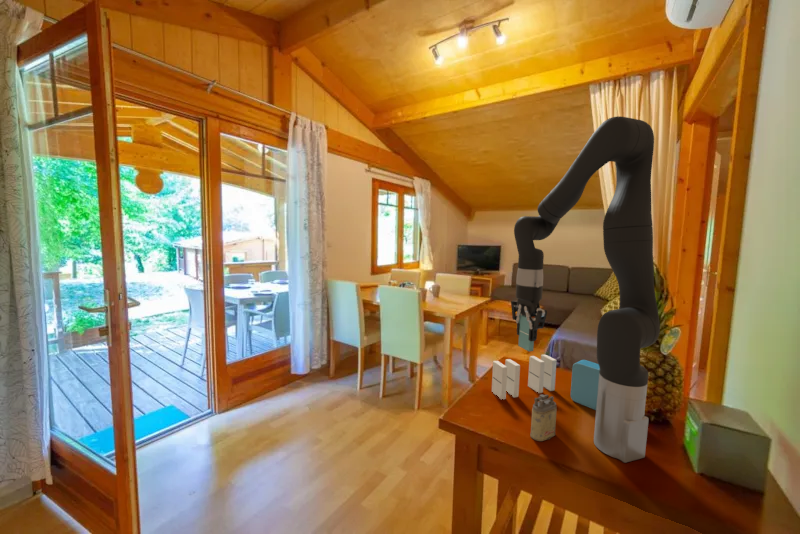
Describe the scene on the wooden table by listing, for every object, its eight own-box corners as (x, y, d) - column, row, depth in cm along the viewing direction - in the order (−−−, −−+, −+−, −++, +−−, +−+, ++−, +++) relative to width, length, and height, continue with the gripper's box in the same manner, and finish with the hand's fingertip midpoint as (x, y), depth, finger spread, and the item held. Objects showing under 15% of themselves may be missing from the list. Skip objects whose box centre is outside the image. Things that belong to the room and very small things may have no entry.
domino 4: (532, 385, 110) (533, 355, 109) (542, 392, 105) (544, 361, 104) (527, 386, 110) (529, 356, 108) (538, 393, 105) (540, 362, 104)
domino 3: (528, 351, 102) (530, 319, 101) (518, 345, 107) (519, 314, 105) (533, 350, 102) (535, 318, 101) (522, 345, 107) (524, 314, 106)
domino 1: (496, 391, 106) (497, 360, 105) (505, 398, 101) (507, 366, 100) (491, 391, 105) (492, 361, 104) (501, 399, 101) (502, 367, 99)
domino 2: (508, 389, 107) (510, 358, 106) (518, 396, 103) (520, 365, 101) (503, 389, 107) (505, 359, 106) (513, 397, 102) (515, 365, 101)
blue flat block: (620, 412, 94) (624, 371, 93) (614, 418, 92) (618, 375, 90) (576, 395, 104) (579, 358, 102) (569, 400, 101) (572, 361, 99)
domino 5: (543, 383, 111) (545, 354, 110) (554, 390, 107) (556, 360, 105) (539, 384, 111) (541, 354, 110) (550, 391, 106) (552, 360, 105)
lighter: (546, 427, 87) (548, 390, 86) (559, 435, 84) (562, 397, 83) (527, 435, 84) (529, 397, 82) (540, 444, 80) (542, 404, 79)
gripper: (504, 280, 107) (501, 331, 110) (535, 288, 94) (531, 347, 96) (524, 279, 110) (521, 329, 112) (557, 286, 96) (553, 344, 98)
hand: (526, 337), depth 104 cm, fingers closed on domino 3, 5 cm apart
